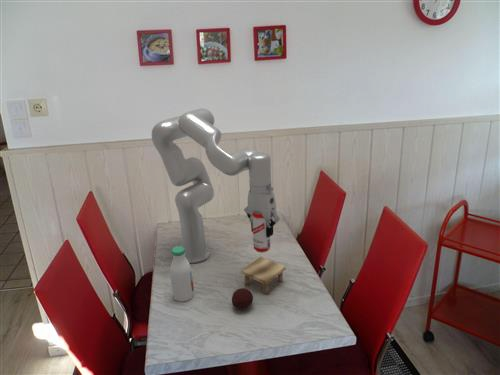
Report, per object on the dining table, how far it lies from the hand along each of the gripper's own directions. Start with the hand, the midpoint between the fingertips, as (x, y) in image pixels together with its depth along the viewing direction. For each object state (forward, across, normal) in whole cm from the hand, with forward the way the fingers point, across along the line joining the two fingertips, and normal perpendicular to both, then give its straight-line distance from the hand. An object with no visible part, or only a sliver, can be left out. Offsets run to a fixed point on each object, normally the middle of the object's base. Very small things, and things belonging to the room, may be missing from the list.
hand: (262, 232), depth 149 cm
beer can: (+7, 0, 0) cm, 7 cm away
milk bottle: (+22, +19, +24) cm, 38 cm away
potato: (+22, -2, +16) cm, 27 cm away
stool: (+22, 0, 0) cm, 22 cm away
